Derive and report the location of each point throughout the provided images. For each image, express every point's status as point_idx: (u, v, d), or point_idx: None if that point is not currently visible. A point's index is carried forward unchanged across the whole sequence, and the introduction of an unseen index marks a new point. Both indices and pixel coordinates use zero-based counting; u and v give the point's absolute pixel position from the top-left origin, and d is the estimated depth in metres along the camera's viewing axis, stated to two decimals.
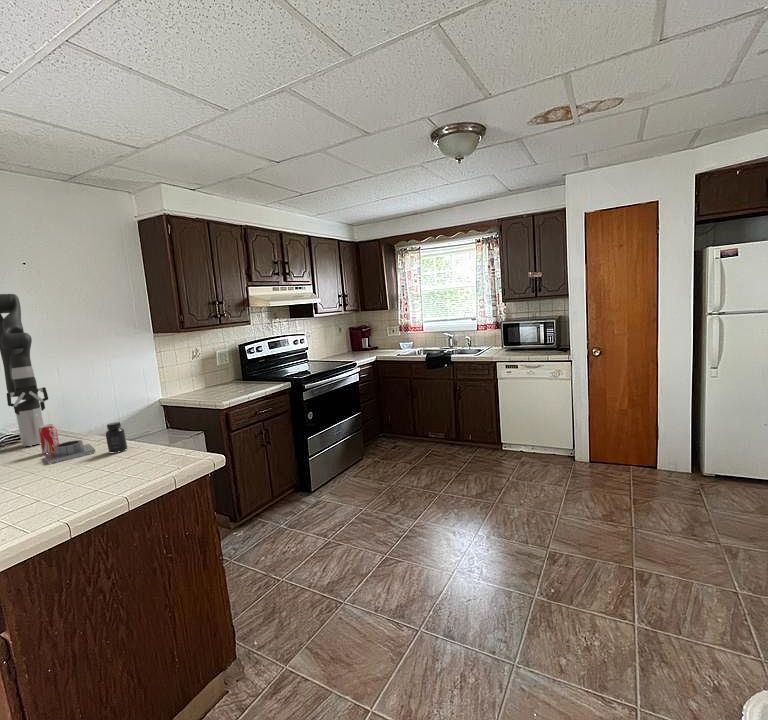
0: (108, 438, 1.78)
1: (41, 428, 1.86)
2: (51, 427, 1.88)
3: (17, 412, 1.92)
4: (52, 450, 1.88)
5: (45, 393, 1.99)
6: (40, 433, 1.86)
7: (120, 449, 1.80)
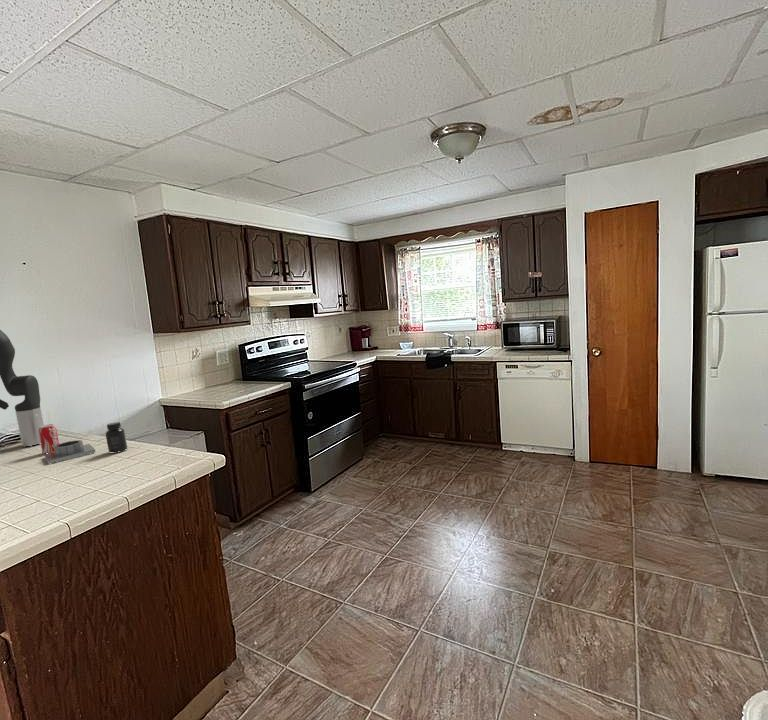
0: (108, 438, 1.78)
1: (41, 428, 1.86)
2: (51, 427, 1.88)
3: None
4: (52, 450, 1.88)
5: None
6: (40, 433, 1.86)
7: (120, 449, 1.80)
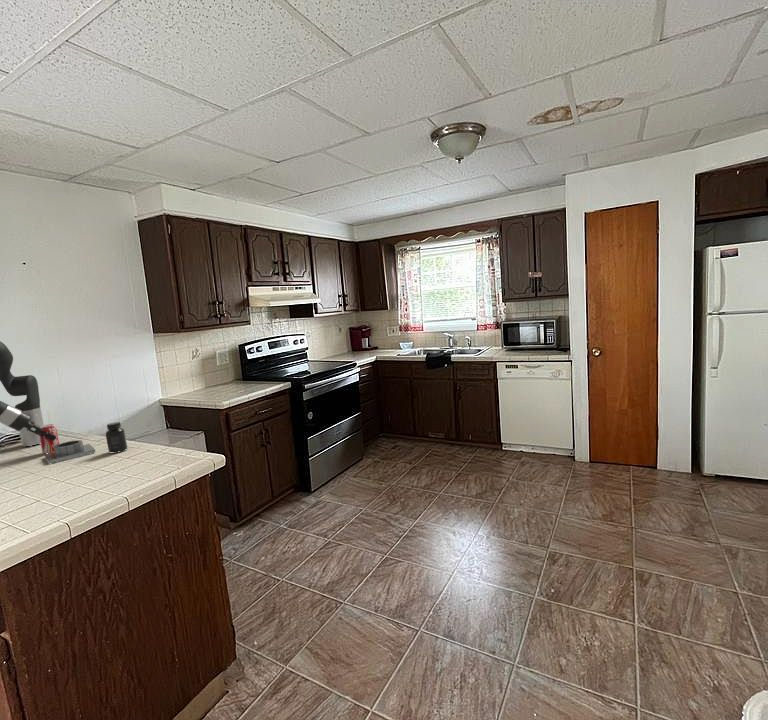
0: (108, 438, 1.78)
1: None
2: (51, 427, 1.88)
3: None
4: (52, 450, 1.88)
5: (35, 433, 1.82)
6: (40, 433, 1.86)
7: (120, 449, 1.80)
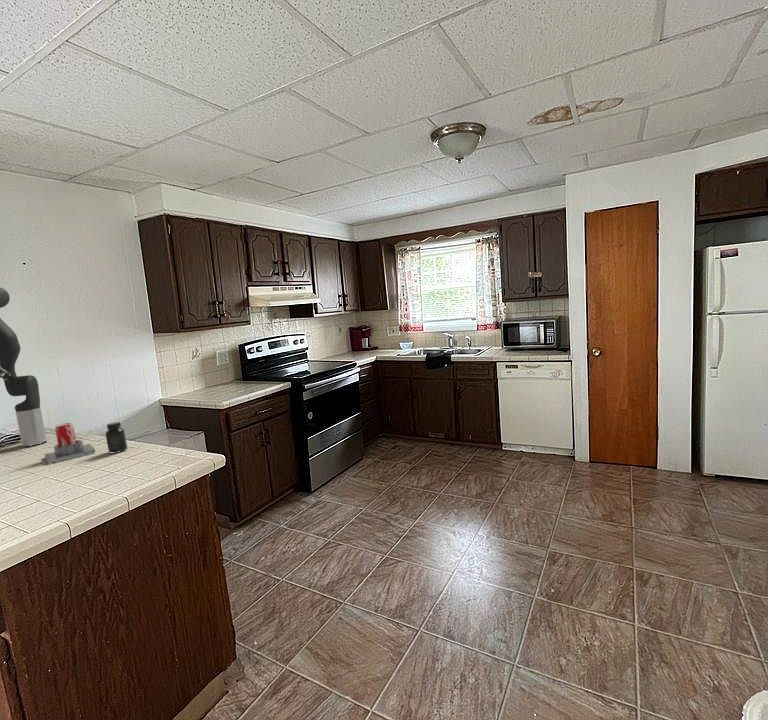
0: (108, 438, 1.78)
1: (58, 427, 1.79)
2: (68, 426, 1.80)
3: None
4: None
5: None
6: (57, 432, 1.78)
7: (120, 449, 1.80)
